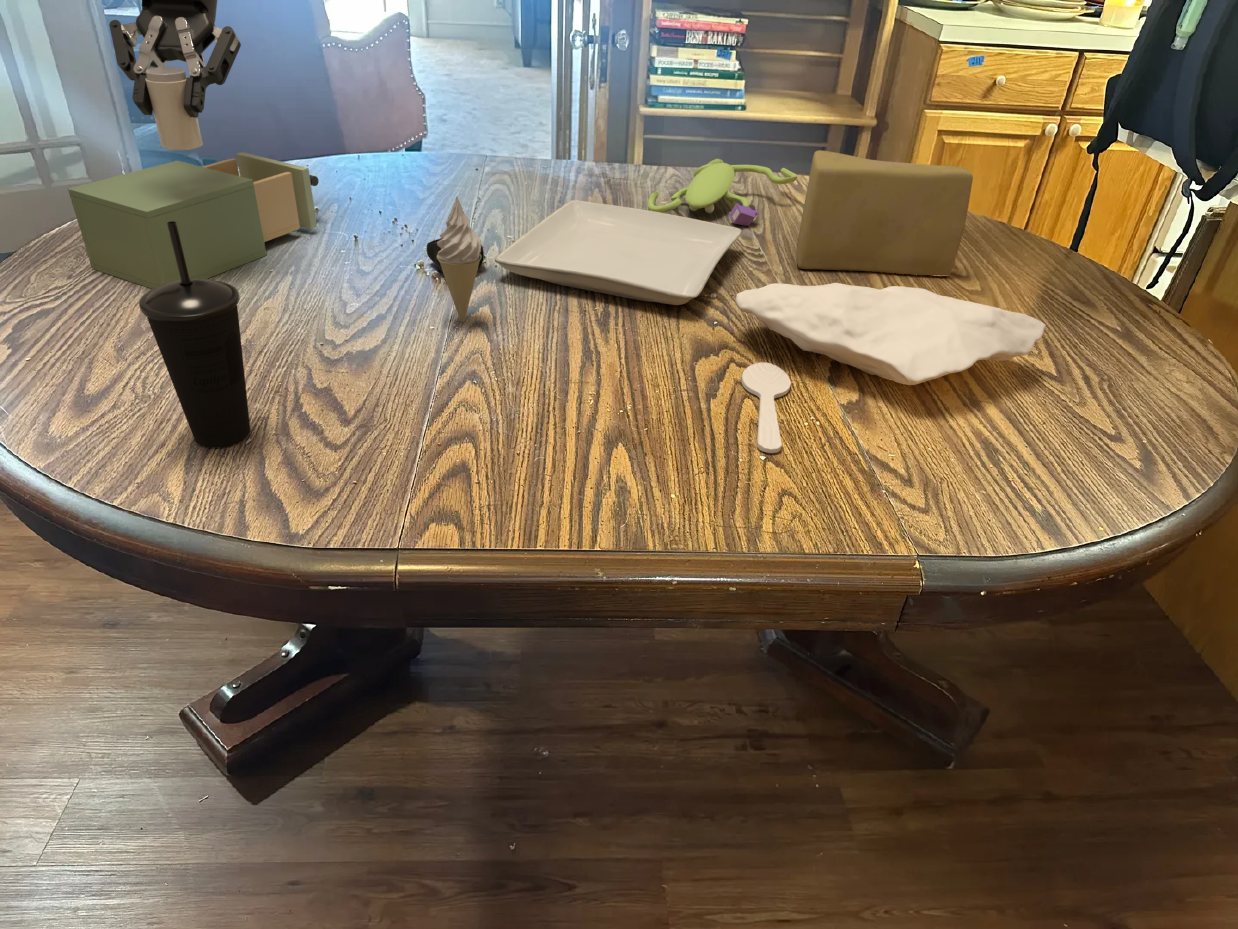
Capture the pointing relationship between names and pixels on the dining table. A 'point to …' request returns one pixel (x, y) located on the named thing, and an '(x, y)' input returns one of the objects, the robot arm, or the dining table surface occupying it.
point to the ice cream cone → (459, 257)
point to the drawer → (276, 192)
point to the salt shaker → (172, 109)
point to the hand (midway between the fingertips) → (167, 111)
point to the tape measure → (434, 249)
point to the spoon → (766, 401)
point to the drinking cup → (201, 351)
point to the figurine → (719, 190)
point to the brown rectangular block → (882, 215)
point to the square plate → (621, 251)
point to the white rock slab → (892, 328)
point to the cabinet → (149, 198)
